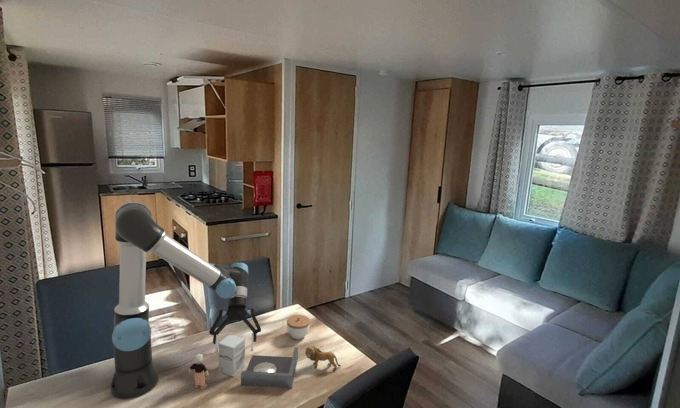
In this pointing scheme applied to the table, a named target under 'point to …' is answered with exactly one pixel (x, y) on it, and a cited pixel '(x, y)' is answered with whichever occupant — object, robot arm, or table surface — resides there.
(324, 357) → the lion figurine
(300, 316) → the lidded jar
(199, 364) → the grandmother figurine
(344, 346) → the table surface
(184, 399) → the table surface
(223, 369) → the supplement box
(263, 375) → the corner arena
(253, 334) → the robot arm
